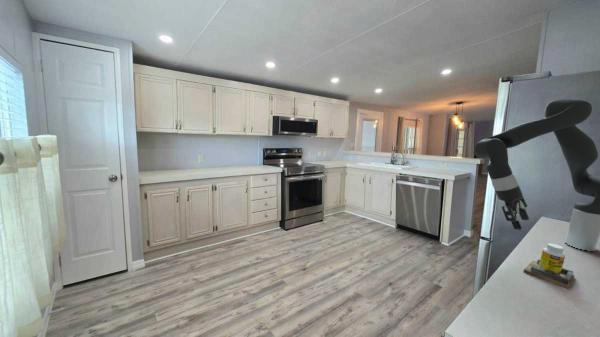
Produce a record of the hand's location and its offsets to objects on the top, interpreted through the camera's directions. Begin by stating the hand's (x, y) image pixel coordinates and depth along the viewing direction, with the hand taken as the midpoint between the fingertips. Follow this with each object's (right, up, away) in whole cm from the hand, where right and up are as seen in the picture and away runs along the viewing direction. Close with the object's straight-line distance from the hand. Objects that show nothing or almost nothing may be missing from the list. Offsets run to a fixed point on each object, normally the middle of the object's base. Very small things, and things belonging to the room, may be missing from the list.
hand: (522, 224), depth 94 cm
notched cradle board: (+2, -16, -8) cm, 18 cm away
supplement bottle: (+2, -15, -8) cm, 18 cm away
